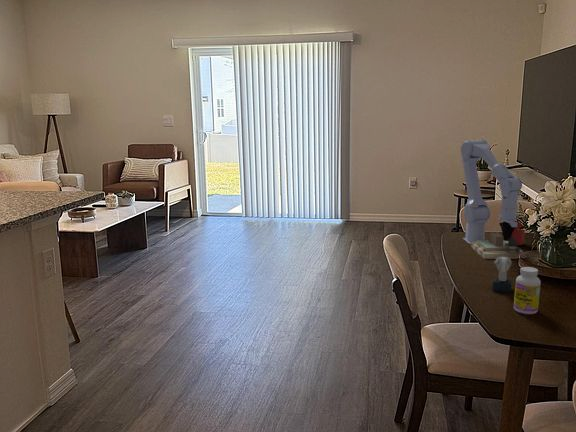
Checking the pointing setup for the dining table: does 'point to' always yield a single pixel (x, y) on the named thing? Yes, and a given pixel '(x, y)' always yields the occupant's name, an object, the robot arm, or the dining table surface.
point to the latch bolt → (511, 243)
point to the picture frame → (496, 252)
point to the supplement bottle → (527, 291)
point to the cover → (493, 241)
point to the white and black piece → (502, 275)
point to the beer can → (518, 234)
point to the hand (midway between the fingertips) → (506, 240)
